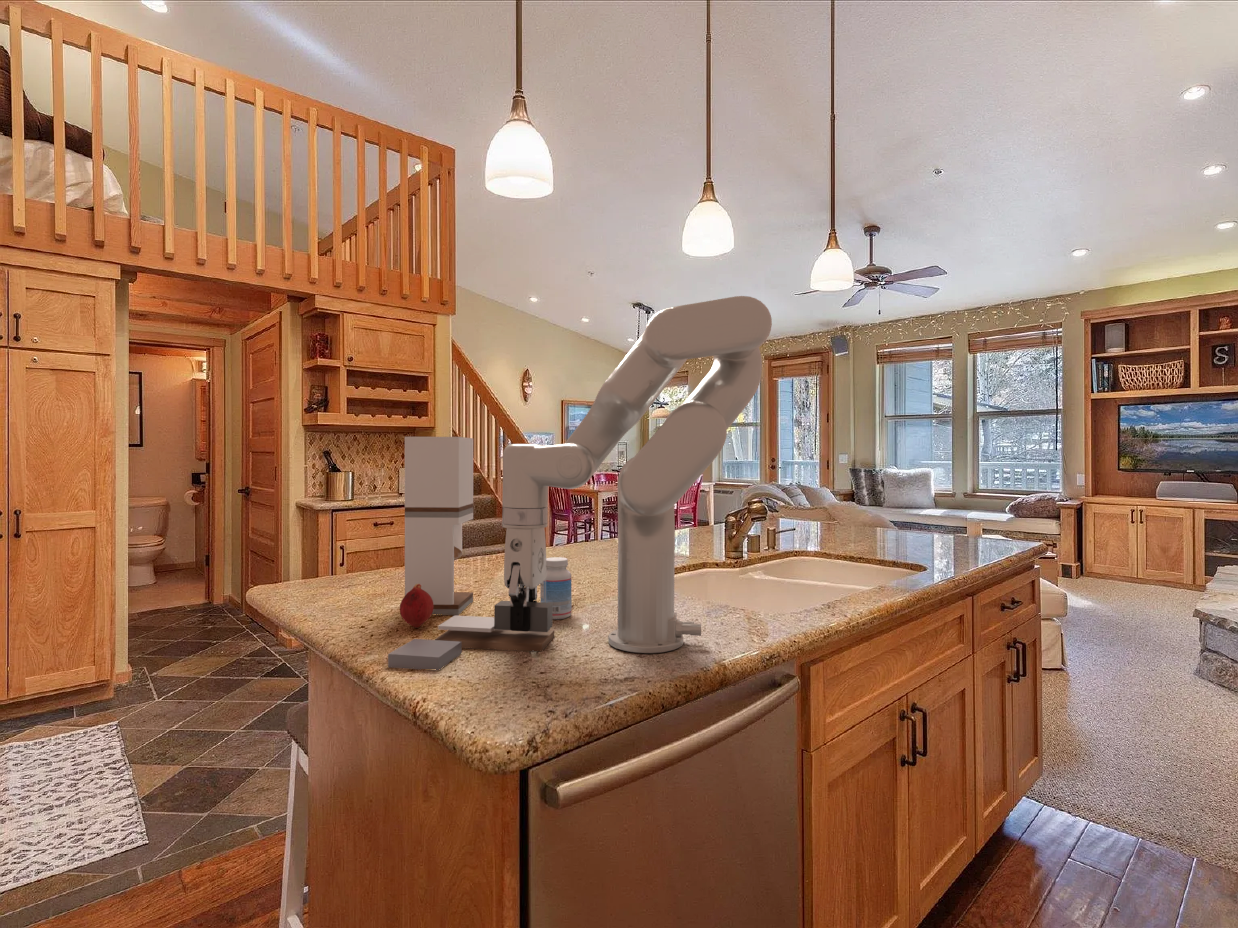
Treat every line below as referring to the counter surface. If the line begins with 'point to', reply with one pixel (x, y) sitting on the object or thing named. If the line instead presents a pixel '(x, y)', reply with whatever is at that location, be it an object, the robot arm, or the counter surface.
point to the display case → (437, 516)
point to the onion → (416, 606)
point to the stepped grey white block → (502, 619)
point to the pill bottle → (557, 587)
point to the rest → (500, 639)
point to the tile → (424, 654)
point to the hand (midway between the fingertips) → (523, 626)
